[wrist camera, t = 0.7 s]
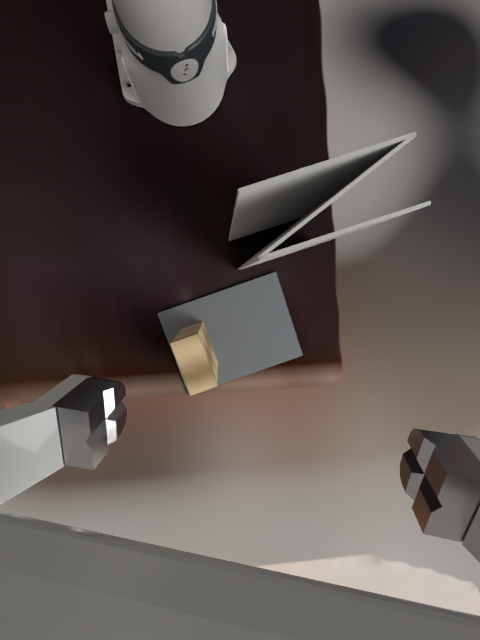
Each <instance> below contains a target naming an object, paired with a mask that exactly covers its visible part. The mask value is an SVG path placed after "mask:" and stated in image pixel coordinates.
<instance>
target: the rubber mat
mask: <svg viewBox="0 0 480 640" xmlns="http://www.w3.org/2000/svg"><path fill="white" fill-rule="evenodd" d="M157 314H158V317H159V319H160V322H161V325H162V327H163V330H164V332H165V335H166V337H167V340H168V342H169V345H170V343H171V342H172V340H173V339H174V338H175V337H176V335H177V334H178V333H179V332H180V330H181V329H183V328H186V327H188V326H191V325H194V324H197V323H200V322H203V323H204V326H205V328H206V331H207V334H208V337H209V339H210V342H211V345H212V347H213V350H214V353H215V355H216V358H217V361H218V380H217V386H218V385H220V384H223V383H226V382H229V381H232V380H235V379H237V378H240V377H243V376H246V375H249V374H252V373H254V372H257V371H260V370H263V369H266V368H268V367H271V366H274V365H277V364H280V363H283V362H285V361H288V360H291V359H294V358H297V357H300V356H302V355H303V354H302V351H301V348H300V345H299V342H298V339H297V336H296V333H295V330H294V326H293V323H292V320H291V317H290V314H289V311H288V308H287V305H286V302H285V299H284V295H283V292H282V289H281V286H280V283H279V280H278V277H277V274H276V272H273V273H271V274H268V275H265V276H262V277H259V278H256V279H253V280H251V281H248V282H245V283H242V284H239V285H236V286H233V287H231V288H228V289H225V290H222V291H219V292H216V293H213V294H211V295H208V296H205V297H202V298H199V299H196V300H193V301H191V302H188V303H185V304H182V305H179V306H176V307H173V308H171V309H168V310H165V311H162V312H159V313H157ZM170 347H171V345H170ZM171 350H172V347H171ZM172 353H173V355H174V352H173V350H172ZM174 358H175V360H176V357H175V355H174ZM176 363H177V360H176ZM177 365H178V363H177ZM178 368H179V365H178ZM179 370H180V368H179ZM180 373H181V370H180ZM181 376H182V378H183V375H182V373H181ZM183 381H184V383H185V380H184V378H183ZM185 386H186V383H185ZM186 388H187V386H186ZM187 391H188V388H187ZM188 393H189V391H188ZM189 395H190V393H189Z"/></svg>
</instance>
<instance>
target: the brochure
mask: <svg viewBox="0 0 480 640" xmlns="http://www.w3.org/2000/svg"><path fill="white" fill-rule="evenodd" d="M416 136H417V135H416V132H413V133H411V134H407V135H404V136H401V137H398V138H395V139H392V140H388V141H385V142H382V143H380V144H376V145H373V146H370V147H367V148H364V149H361V150H357V151H354V152H351V153H348V154H345V155H342V156H339V157H336V158H333V159H329V160H326V161H323V162H320V163H317V164H314V165H311V166H308V167H304V168H301V169H298V170H295V171H292V172H289V173H286V174H283V175H280V176H276V177H273V178H270V179H267V180H264V181H261V182H258V183H255V184H252V185H248V186H245V187H242V188H239V189H238V192H237V197H236V202H235V208H234V213H233V219H232V224H231V230H230V235H229V241H231V240H234V239H237V238H240V237H244V236H247V235H250V234H253V233H256V232H259V231H262V230H265V229H268V228H271V227H274V226H278V225H281V224H284V223H287V222H290V221H293V220H296V219H299V218H301V219H300V220H298V221H297V222H296V223H295V224H293V225H292V226H291V227H290V228H288V229H287V230H286V231H285V232H283V233H282V234H281V235H279V236H278V237H277V238H276V239H274V240H273V241H272V242H271V243H269V244H268V245H267V246H266V247H264V248H263V249H262V250H261V251H259V252H258V253H257V254H255V255H254V256H253V257H252V258H250V259H249V260H248V261H247V262H245V263H244V264H243V265H242V266H240V267H239V268H238V270H241V269H244V268H247V267H250V266H253V265H256V264H259V263H262V262H265V261H268V260H271V259H274V258H278V257H281V256H284V255H287V254H290V253H293V252H296V251H299V250H302V249H305V248H308V247H311V246H314V245H317V244H320V243H323V242H326V241H329V240H331V239H334V238H337V237H340V236H343V235H346V234H349V233H351V232H354V231H357V230H360V229H363V228H366V227H368V226H371V225H374V224H377V223H380V222H383V221H386V220H388V219H391V218H394V217H397V216H400V215H403V214H405V213H408V212H411V211H414V210H417V209H420V208H422V207H425V206H428V205H431V202H430V201H428V202H425V203H422V204H419V205H416V206H413V207H410V208H407V209H404V210H401V211H398V212H394V213H391V214H388V215H385V216H382V217H379V218H376V219H373V220H370V221H367V222H364V223H361V224H357V225H355V226H351V227H348V228H345V229H342V230H339V231H336V232H333V233H330V234H327V235H324V236H321V237H317V238H314V239H311V240H308V241H305V242H302V243H299V244H296V245H293V246H290V247H287V248H284V249H281V250H277V251H274V252H271V253H269V252H270V251H272V250H273V249H274V248H276V247H277V246H278V245H279V244H281V243H282V242H283V241H284V240H286V239H287V238H288V237H289V236H291V235H292V234H293V233H294V232H296V231H297V230H298V229H300V228H301V227H302V226H303V225H305V224H306V223H307V222H308V221H310V220H311V219H312V218H313V217H315V216H316V215H317V214H318V213H320V212H321V211H322V210H324V209H325V208H326V207H327V206H329V205H330V204H331V203H332V202H334V201H335V200H336V199H337V198H339V197H340V196H341V195H342V194H344V193H345V192H346V191H347V190H349V189H350V188H351V187H352V186H354V185H355V184H356V183H358V182H359V181H360V180H361V179H363V178H364V177H365V176H366V175H368V174H369V173H370V172H371V171H372V170H374V169H375V168H377V167H378V166H379V165H380V164H382V163H383V162H384V161H385V160H387V159H388V158H389V157H390V156H392V155H393V154H394V153H396V152H397V151H398V150H399V149H401V148H402V147H403V146H404V145H405V144H407V143H408V142H409V141H411V140H412V139H413V138H414V137H416Z"/></svg>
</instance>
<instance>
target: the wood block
mask: <svg viewBox="0 0 480 640" xmlns="http://www.w3.org/2000/svg"><path fill="white" fill-rule="evenodd" d="M170 345H171V347H172V350H173V352H174V355H175V357H176V360H177V363H178V365H179V368H180V370H181V373H182V375H183V378H184V380H185V383H186V386H187V388H188V391H189V393H190V396H191V395H194V394H197V393H200V392H202V391H205V390H208V389H211V388H214V387H217V380H218V361H217V358H216V355H215V353H214V350H213V347H212V345H211V342H210V339H209V337H208V334H207V331H206V328H205V326H204V323H203V322H200V323H197V324H194V325H191V326H188V327H186V328H183V329H181V330H180V332H179V333H178V334H177V335H176V337H175V338H174V339H173V340H172V342H171V343H170Z"/></svg>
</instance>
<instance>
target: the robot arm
mask: <svg viewBox="0 0 480 640" xmlns="http://www.w3.org/2000/svg"><path fill="white" fill-rule="evenodd" d="M106 3H107V9H108V11H106V12H105V13H104V14H105V19H106V23H107V26H108V29H109V31H110V33H111V34H112V37H113V43H114V48H115V54H116V59H117V65H118V71H119V76H120V82H121V87H122V93H123V96H124V98H125V100H126V101H127V102H128V103H130V104H132V105H135V106H138V107H142V108H144V109H146V110H147V111H148V112H150V113H151V114H152V115H153V116H155V117H156V118H157V119H159V120H161V121H163V122H165V123H167V124H170V125H174V126H190V125H194V124H197V123H200V122H202V121H203V120H205V119H206V118H208V117H209V116H210V115H211V114H212V113H213V112H214V111H215V110H216V108H217V107H218V105H219V103H220V102H221V99H222V97H223V94H224V89H225V85H226V82H227V79H228V78H229V76H230V75H231V74H232V72H233V71H234V69H235V67H236V63H237V61H236V55H235V53H234V51H233V49H232V47H231V45H230V43H229V41H228V39H227V30H226V25H225V24H224V23H222V21H221V19H220V17H219V15H218V13H217V3H216V0H106ZM129 84H131V87H127V86H128V85H129ZM125 396H126V386H125V384H124V383H123V382H119V381H113V380H108V379H102V378H96V377H90V376H85V375H78V374H76V375H71V376H70V377H68V378H67V379H65V380H64V381H63V382H61V383H60V384H58V385H57V386H56V387H54V388H53V389H51V390H50V391H49V392H47V393H46V394H45V395H43V396H42V397H40V398H39V399H38V400H36V401H35V402H33V403H24V404H21V405H17V406H14V407H11V408H8V409H4V410H1V411H0V505H1V504H2V503H4V502H6V501H7V500H9V499H11V498H12V497H14V496H16V495H17V494H19V493H21V492H22V491H24V490H26V489H27V488H29V487H31V486H32V485H34V484H35V483H37V482H39V481H41V480H42V479H44V478H45V477H47V476H49V475H51V474H52V473H54V472H55V471H57V470H59V469H60V468H62V467H64V465H68V466H74V467H81V468H87V469H93V470H94V469H95V468H96V467H97V465H98V464H99V463H100V461H101V460H102V459H103V457H104V456H105V455H106V454H107V452H108V444H110V443H112V442H114V441H116V440H117V439H118V438H119V436H120V435H121V434H122V432H123V429H124V427H125V425H126V420H127V407H126V406H125V405H124V403H123V402H122V400H123V399H124V398H125ZM407 441H408V443H409V445H410V447H411V449H410V450H408V451H406V452H405V453H404V454H403V455H402V459H401V462H400V478H401V482H402V485H403V488H404V490H405V492H406V493H407V494H408V495H409V496H410V497H411V498H412V499H414V503H413V506H412V509H413V511H414V514H415V516H416V518H417V520H418V523H419V525H420V527H421V530H422V532H423V534H427V535H432V536H436V537H441V538H445V539H450V540H454V541H459V542H463V543H462V545H463V546H464V547H465V548H466V549H467V550H468V551H469V552H470V553H471V554H472V555H473V556H474V557H475V558H476V559H477V560H478V561H479V562H480V439H479V438H477V437H475V436H468V435H459V434H448V433H442V432H435V431H428V430H421V429H413V430H412V431H411V432H410V434H409V437H408V440H407ZM0 640H480V616H477V615H473V614H468V613H463V612H459V611H454V610H450V609H445V608H441V607H436V606H431V605H427V604H422V603H418V602H413V601H409V600H404V599H400V598H395V597H390V596H386V595H381V594H377V593H372V592H368V591H363V590H358V589H354V588H349V587H345V586H340V585H336V584H331V583H326V582H322V581H317V580H313V579H308V578H304V577H299V576H295V575H290V574H285V573H281V572H276V571H272V570H267V569H263V568H258V567H253V566H249V565H244V564H240V563H235V562H231V561H226V560H221V559H217V558H212V557H207V556H203V555H198V554H194V553H189V552H184V551H180V550H176V549H171V548H167V547H162V546H157V545H153V544H148V543H144V542H139V541H135V540H130V539H125V538H120V537H116V536H112V535H107V534H102V533H98V532H93V531H88V530H84V529H80V528H75V527H71V526H65V525H61V524H57V523H52V522H48V521H43V520H38V519H34V518H29V517H25V516H20V515H16V514H11V513H6V512H1V511H0Z"/></svg>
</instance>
